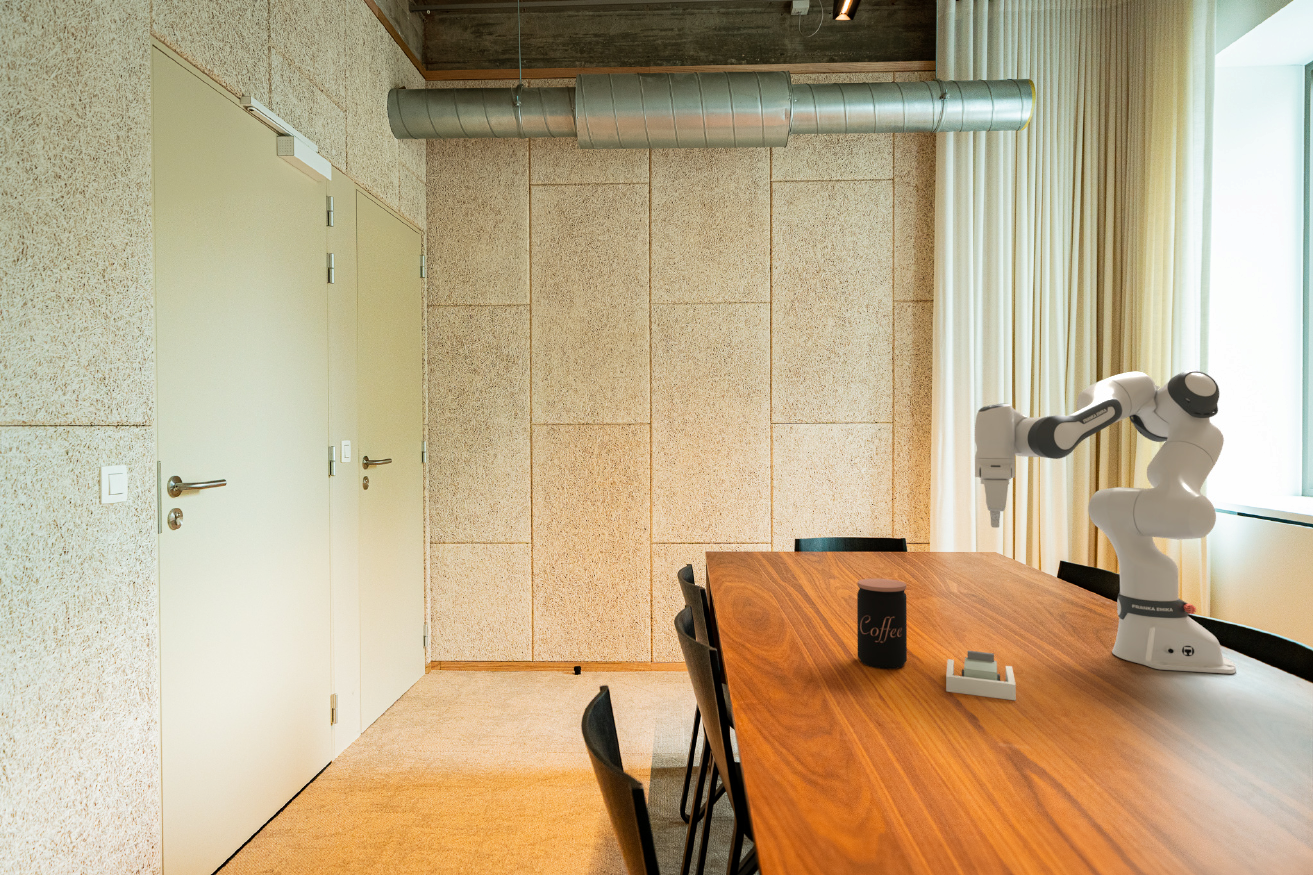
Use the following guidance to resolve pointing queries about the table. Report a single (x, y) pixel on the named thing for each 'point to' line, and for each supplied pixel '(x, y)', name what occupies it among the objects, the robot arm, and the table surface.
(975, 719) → the table surface
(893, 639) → the coffee jar
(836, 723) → the table surface
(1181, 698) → the table surface
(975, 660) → the sage cart
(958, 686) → the dock bay
